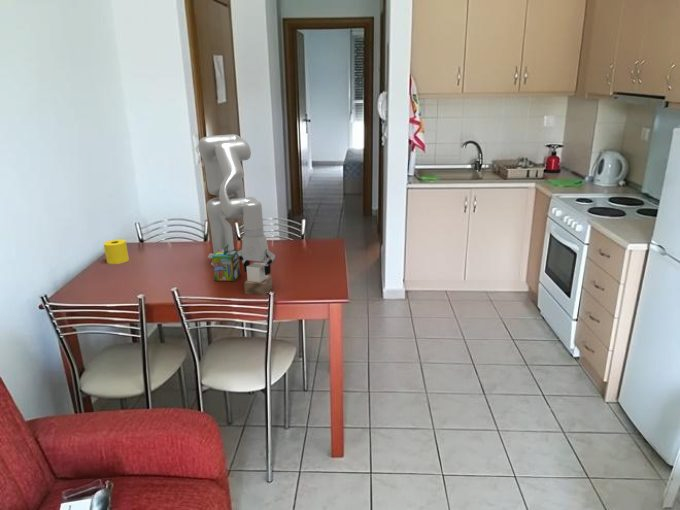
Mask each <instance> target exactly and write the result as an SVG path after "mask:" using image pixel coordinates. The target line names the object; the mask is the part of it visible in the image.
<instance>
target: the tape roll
mask: <svg viewBox="0 0 680 510" xmlns="http://www.w3.org/2000/svg"><path fill="white" fill-rule="evenodd" d="M103 247H104V248H103V249H104V253H105V254H104V255H105V259H106V263H107V264H108V265H119V264H123V263H125V262H128V261H129V260H130V258H129V252H128V246H127V240H126V239H121V238H119V239H118V238H117V239H112V240H107V241H105V242H104V243H103Z"/></svg>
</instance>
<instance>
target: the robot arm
mask: <svg viewBox="0 0 680 510" xmlns="http://www.w3.org/2000/svg"><path fill="white" fill-rule="evenodd" d="M198 152H199V154H200V157H201V159H202V161H203V164H204V172H205V179H206V186H207V191H208V193H209V194H210V195H212V196H218V197H214V198H210V199H209V200H208V201H207V202H206V205H205V209H206V213H207V217H208V220H209V226H210V234H211V235H210V236H211V242H212V252H213V253H212V252H211V253H209V254H208V256H207V259H211V260H212V261H211V263H210V264H211V266H212V267H213V259H212V256H213V255H214V254H215V253H216V252H217V251H218V250H224V249H225V247H226V246H227V245H228V250H235V245H234V238H233V237H234V236H233V227H232V225H231V224H230V222H229V221H228V220H226V219H237V218H242V220H243V221H242V223H243V228H242V229H241V231H242V232H243V233H244V235H242V241H241V249H240V250H238V252H237V254H238V255H239V260H241V262H242V264H243V269H244V273H246V274H247V268H246V267H247V266H249V265H250V263H251V262H257V263H264V264H265V265H266V266H264V268H265V275H268V276H269V275H270V274H271V272H272V268H271V265H272V263H273V262H274V261H275V259H276V254H274V253H273V252H271V251H270V250H269V246H268V240H267V236H266V234H265V231H264V222H263V208H262V203H261V202H260V201H259V200H257V198H255V197H254V196H247V197H245V191H244V181H243V179H244V177H245V172H244V169H243V166H242V163H241V162H242V161H248V160H249V159H251V155H252V150H251V148H250V145H249V143H248V141H246V140H245V139H244V138H242V137H241V136H239V135H238V134H233V133H231V134H220V135H218V134H217V135H209V136H203V137H202V138H200V139H199V141H198ZM229 194H231V195H229ZM226 249H227V248H226Z"/></svg>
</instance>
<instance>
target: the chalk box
mask: <svg viewBox="0 0 680 510" xmlns="http://www.w3.org/2000/svg"><path fill="white" fill-rule="evenodd" d="M226 248H227V249H226ZM238 251H239V250H238V249H234V250H228V245H227V246H226V247H225V249H224V250H218V251H217V252H216V253H215V254H214V253H213V254H214V255H213V256H212V259H213V266H212V267H213V277H214V281H216V282H218V281H219V282H235V281H236V280H237V278H238V277H240V275H241V268H240V267H241V266H240V258H239V255H238V254H237V252H238ZM212 259H211V260H212Z"/></svg>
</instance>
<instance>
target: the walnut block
mask: <svg viewBox="0 0 680 510" xmlns="http://www.w3.org/2000/svg"><path fill="white" fill-rule="evenodd" d="M243 284H244V286H243V287H244V294H245V295H265V296H266V294H267V292H268V291H269V292H270V291H271V289H273V286H274V285H273V276H272V275H268V278H267V279H265V280H264V281H262V282H253V281H248V279H246V280H245V282H244V283H243ZM269 292H268V293H269ZM267 295H268V294H267Z"/></svg>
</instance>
